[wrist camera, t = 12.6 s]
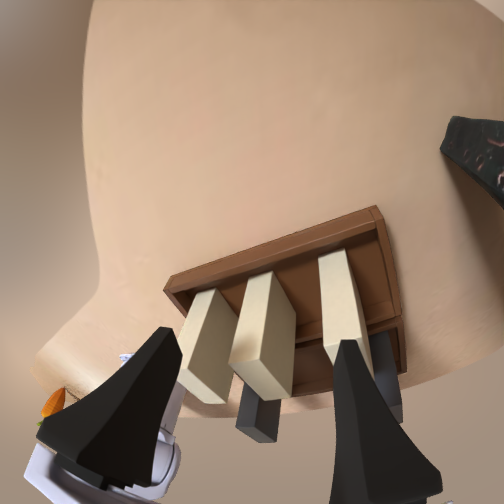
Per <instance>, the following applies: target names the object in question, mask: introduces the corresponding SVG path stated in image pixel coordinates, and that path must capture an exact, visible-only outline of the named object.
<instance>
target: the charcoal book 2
mask: <svg viewBox="0 0 504 504" xmlns="http://www.w3.org/2000/svg"><path fill="white" fill-rule="evenodd" d="M368 340H369V346H370V352H371V359H372V365H373V372H374V380H375V381H374V382H375V384H376V386H377V388H378V390H379V391H380V393H381V395H382V397H383V399H384V401H385V402H386V404H387V406H388V408H389V409H390V411H391V412H392V414H393V416H394V417H395V419H396V420H397V422H398V423H399V424H400V423H402V422H403V412H402V411H403V410H402V399H401V393H400V387H399V381H398V376H397V371H396V366H395V361H394V356H393V351H392V347H391V342H390V338H389V334H388V330H386V331H382V332H379V333H376V334H372V335H369V336H368Z"/></svg>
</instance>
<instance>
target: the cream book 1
mask: <svg viewBox="0 0 504 504" xmlns="http://www.w3.org/2000/svg"><path fill="white" fill-rule="evenodd" d="M238 321H239V318H238V317H237V315H236V314H235V313H234V311H233V310H232V309H231V307H230V306H229V304H228V303H227V302H226V300H225V299H224V297H223V296H222V295H221V293H220V292H219V290H218V289H217V288H216V287H215V288H211V289H208V290H204V291H201V292H198V293H197V294H196V296H195V299H194V301H193V303H192V306H191V308H190V310H189V313H188V315H187V317H186V320H185V322H184V325H183V327H182V329H181V332H180V334H179V337H178V339H177V342H178V344H179V347H180V349H181V351H182V354H183V358H182V362H181V367H180V371H179V375H178V377H177V381H178V382H179V383H180V384H182V385H183V386H184V387H185V388H186V389H187V390H189V391H190V392H191V393H192V394H194V395H195V396H196V397H197V398H199V399H200V400H201V401H202V402H204V403H205V404H225V403H227V401H228V397H229V392H230V388H231V383H232V379H233V374H234V370H233V368H232V367H231V366H230V365H229V364H228V362H229V358H230V353H231V349H232V345H233V341H234V337H235V333H236V329H237V325H238Z"/></svg>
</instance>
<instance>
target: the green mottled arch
mask: <svg viewBox="0 0 504 504" xmlns="http://www.w3.org/2000/svg"><path fill="white" fill-rule="evenodd" d="M440 150H441V152H442V153H443V154H444V155H446V156H447V157H448V158H450V159H451V160H452V161H454V162H455V163H456V164H457V165H458V166H459V167H460V168H461V169H462V170H463V171H464V172H465V173H466V174H468V175H469V176H470V177H471V178H472V179H473V180H474V181H475V182H477V183H478V184H479V185H480V186H481V187H482V188H483V189H484V190H485V191H486V192H487V193H488V194H489V195H490V196H491V197H492V198H493V199H494V200H495V201H496V202H497V203H498V204H499V205H500V206H501V207H502V209H503V210H504V122H503V121H495V120H487V119H471V118H465V117H460V116H453V117H452V118H451V120H450V122H449V124H448V128H447V132H446V136H445V139H444V140H443V143H442V145H441V147H440Z"/></svg>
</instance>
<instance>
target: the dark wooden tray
mask: <svg viewBox="0 0 504 504" xmlns="http://www.w3.org/2000/svg"><path fill="white" fill-rule="evenodd" d="M366 329H367V335H368V336H369V335H372V334H376V333H379V332H382V331H386V330H388V334H389V338H390V342H391V347H392V351H393V356H394V361H395V366H396V371H397V375H399V374H403V373H406V372H407V361H406V348H405V337H404V327H403V320H402V317H401V315H399V316H395V317H393V318H390V319H386V320H383V321H380V322H377V323H373V324H370V325H366ZM234 372H235V371H234ZM235 373H236V372H235ZM236 374H237V373H236ZM237 375H238V374H237ZM238 376H239V375H238ZM239 377H240V376H239ZM240 378H241V377H240ZM241 379H242V378H241ZM242 380H243V379H242ZM243 381H244V380H243ZM329 391H333V364H332V362H331V360H330V358H329V356H328V354H327V352H326V350H325V348H324V343H323V337H321V338H317V339H313V340H309V341H304V342H300V343H295V349H294V366H293V381H292V394H291V398H292V397H299V396H306V395H312V394H318V393H324V392H329Z"/></svg>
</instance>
